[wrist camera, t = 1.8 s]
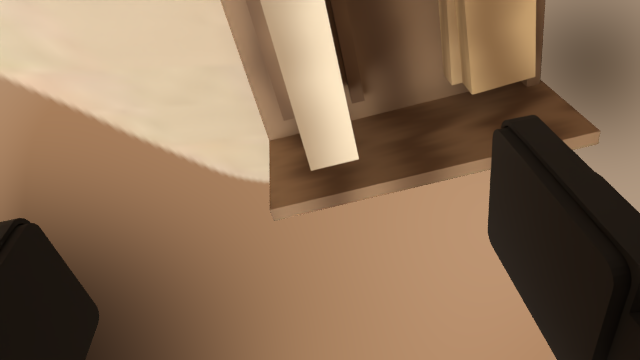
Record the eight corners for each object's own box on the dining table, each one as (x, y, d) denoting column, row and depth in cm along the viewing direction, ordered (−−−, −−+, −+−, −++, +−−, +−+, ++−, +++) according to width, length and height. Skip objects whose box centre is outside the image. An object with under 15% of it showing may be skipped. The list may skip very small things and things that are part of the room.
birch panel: (282, -159, 27) (289, -161, 19) (338, 89, 36) (358, 159, 28) (233, -144, 27) (218, -141, 19) (301, 98, 36) (310, 170, 28)
